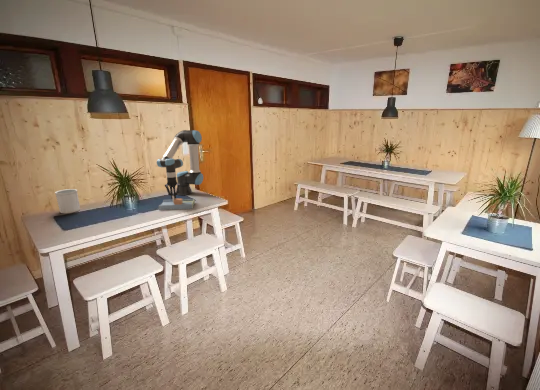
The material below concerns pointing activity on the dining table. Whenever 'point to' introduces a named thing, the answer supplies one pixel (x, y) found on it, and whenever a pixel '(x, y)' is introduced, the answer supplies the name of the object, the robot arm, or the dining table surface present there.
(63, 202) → the utensil holder
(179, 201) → the block
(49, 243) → the dining table surface
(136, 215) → the dining table surface
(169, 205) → the trap tray
